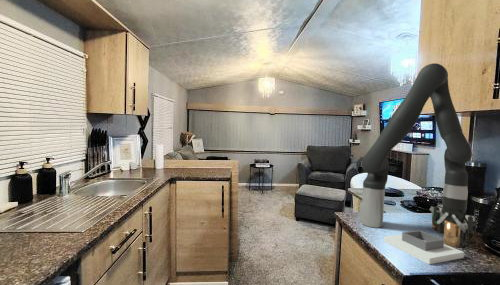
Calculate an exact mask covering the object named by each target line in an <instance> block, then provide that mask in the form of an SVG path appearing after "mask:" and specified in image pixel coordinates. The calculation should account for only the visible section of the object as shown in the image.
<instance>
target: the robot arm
mask: <svg viewBox="0 0 500 285" xmlns="http://www.w3.org/2000/svg"><path fill="white" fill-rule="evenodd" d="M448 77H449V72H448V70H447V68H445V67H444V65H442V64H440V63H429V64H426V65H425V66H424V67H422V68H421V69H420V70H419V72H418V73H417V76H416V77H415V78H416V79H415V80H414V82H413V84H412V86H411V88H410V90H409V91H408V93H407V95H406V96H405V98H403V100H402V101H401V103H400V104H399V105H398V107H397V108H396V109H395V110H394V112H393V113H392V115H391V117H390V118H389V119H388V122H387V123H386V125H385V127H384V128H383V129H382V131H381V133H380V134H379V136H378V137H377V139H376V141H375V142H374V143H373V145H372V146H371V147H370V149H369V150H368V151H367V152H366V153H365V154H364V156H363V157H362V160H361V168H362V170H363V171H364V172H365V173H367V175H366V178H364V180H363V182H362V198H361V200H362V201H360V204H359V218H358V221H359V222H360V223H361V224H362V225H363V226H366V227H370V228H375V229H377V228H382V227H383V224H384V213H385V212H384V210H385V195H386V184H387V182H388V178H389V168H390V162H389V159H388V155H389V154H390V152H391V151H392V150H393V149H394V148H395V147H396V146H397V145H398V144H400V143H401V142H402V141H403V140H404V139H405V138H406V137H407V136H408V135H409V134H410V133H411V130H412V129H413V128H414V126H415V125H416V124H417V122H418V120H419V118H420V116H421V114H422V112H423V109H424V107H425V105H426V104H427V102H428V101H429V99H430V101H431V103H432V105H433V106H432V108H433V112H434V118H435V122H436V126H437V130H438V133H439V135H440V137H441V139H442V140H443V141H444V143H445V145H446V146H445V147H446V148H445V150H444V156H443V157H444V159H443V161H444V162H443V163H444V168H445V174H444V184H443V188H442V189H443V190H442V204H441V206H442V207H441V206H433V207H434V212H433V221H436V222H437V223H438V226H437V232H438V234H439V235H440V234H441V235H442V234H443V235H444V224H443V223H445V220H447V221H449V222H453V223H455V224H456V223H457V225H458V226H459V227H460V228H461V229H460V231H462V232H461V235H460V239H461V240H460V241H461V243H467V242H469V238H470V234H472V233H477V216H475V215H469V214H467V213H466V212H467V209H468V207H467V206H468V197H469V196H468V194H469V190H468V185H469V184H468V182H469V180H468V179H469V174H468V171H467V170H466V164H467V163H468V162H470V161H471V160H472V156H473V153H472V152H473V151H472V149H471V146H470V143H469V142H468V140H467V138H466V136H465V134H464V132H463V128H462V125H461V122H460V118H459V117H458V113H457V111H456V109H455V106H454V104H453V100H452V97H451V94H450V87H449V78H448ZM441 212H442V213H443V216H442V217H441V218H440V213H441Z"/></svg>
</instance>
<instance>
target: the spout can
mask: <svg viewBox="0 0 500 285" xmlns="http://www.w3.org/2000/svg"><path fill="white" fill-rule="evenodd" d="M442 239H443V240H444V244H445V245H448V246H450V247H453V248H459V247H460V241H461V240H460V239H461V228H460V227H459V226H458V225H457V223H456V224H455V223H453V222H449V221H447V220H445V223H444V233H443V237H442Z"/></svg>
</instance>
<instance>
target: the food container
mask: <svg viewBox="0 0 500 285" xmlns="http://www.w3.org/2000/svg"><path fill="white" fill-rule="evenodd" d="M434 207H435V206H433V205H431V206H430V208H429V211H430V212H431V223H432V224H431V225H432V226H431V227H432V229H433V230H434V231H437V226H438V223H437V222H436V221H433V212H434ZM442 216H443V213H442V212H441V213H440V218H441V217H442ZM443 224H444V223H443ZM437 232H438V231H437Z"/></svg>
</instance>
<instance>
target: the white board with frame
mask: <svg viewBox="0 0 500 285" xmlns="http://www.w3.org/2000/svg"><path fill="white" fill-rule="evenodd" d="M401 233H402V234H394V235H388V236H387V235H386V236H384V238H383V239H384V240H383V242H384V243H385V244H388V245H390V246H392V247H394V248H396V249H398V250H399V251H402V252H404V253H406V254H408V255H409V256H412V257H414V258H416V259H418V260H420V261H421V262H423V263H426V264H428V265H434V264H437V263H443V262H450V261H453V260H458V259H459V260H460V259H464V256H465V252H464V251H462V250H460V249H457V248H456V247H450V246H448V245H445V244H444V240H443V238H441V237H438V236H436V235H433V234H430V233H428V232H425V231H422V230H418V229H417V230H413V231H405V232H401Z"/></svg>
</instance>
